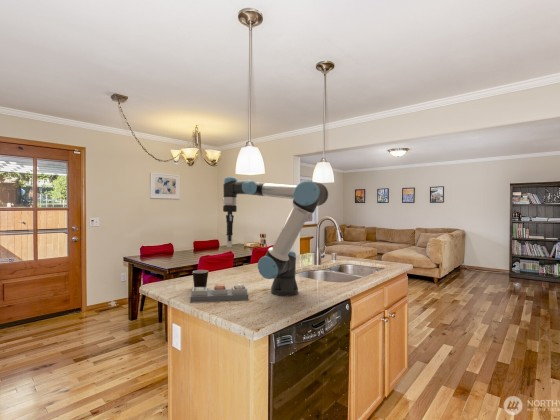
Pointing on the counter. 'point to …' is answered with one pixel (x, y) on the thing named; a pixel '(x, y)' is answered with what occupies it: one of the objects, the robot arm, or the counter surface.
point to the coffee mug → (200, 278)
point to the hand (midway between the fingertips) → (229, 246)
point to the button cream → (239, 286)
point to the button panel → (218, 294)
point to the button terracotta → (219, 287)
